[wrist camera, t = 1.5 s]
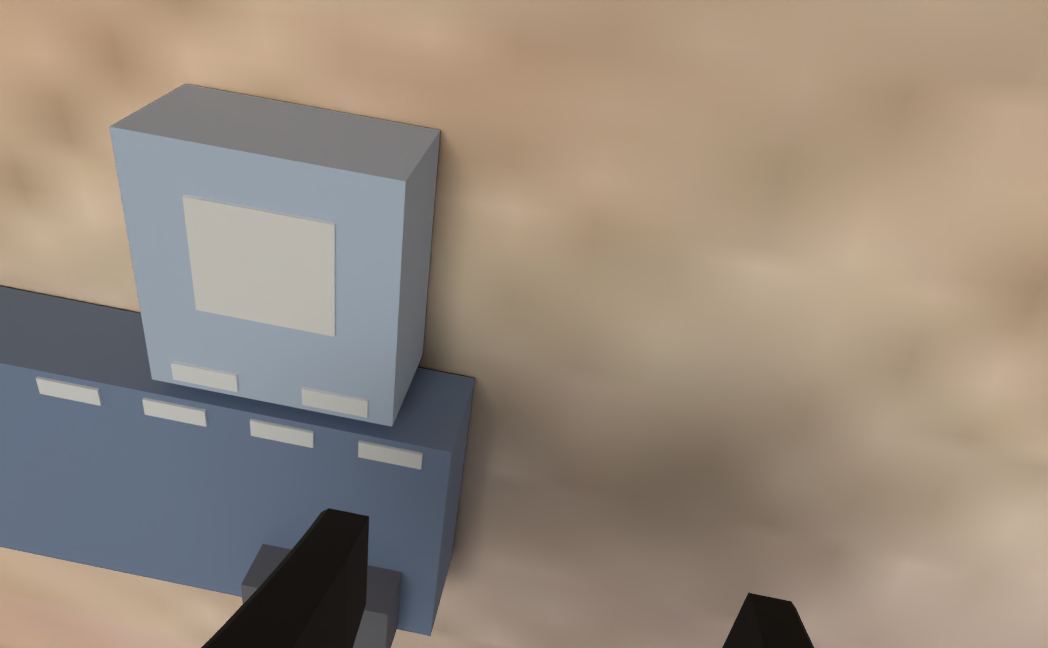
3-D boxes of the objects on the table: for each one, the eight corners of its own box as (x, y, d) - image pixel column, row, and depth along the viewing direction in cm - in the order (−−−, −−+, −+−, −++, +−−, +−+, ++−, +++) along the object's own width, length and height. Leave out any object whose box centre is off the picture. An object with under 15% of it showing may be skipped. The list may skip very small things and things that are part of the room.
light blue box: (440, 130, 18) (404, 183, 15) (422, 355, 21) (391, 429, 19) (184, 83, 18) (106, 128, 15) (210, 314, 21) (150, 381, 19)
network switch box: (474, 378, 21) (438, 493, 18) (451, 556, 25) (418, 679, 22) (-12, 283, 22) (-144, 377, 18) (44, 473, 26) (-55, 580, 22)
